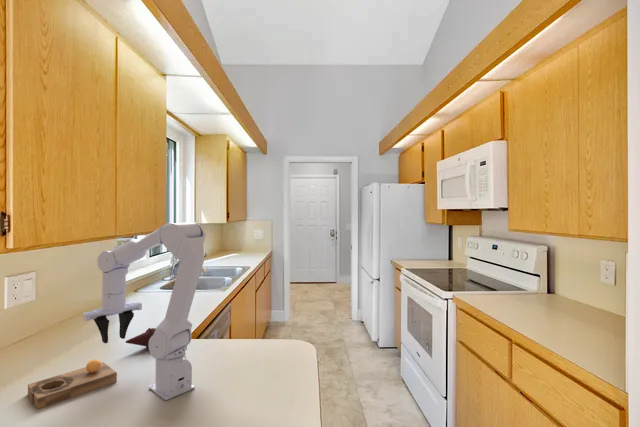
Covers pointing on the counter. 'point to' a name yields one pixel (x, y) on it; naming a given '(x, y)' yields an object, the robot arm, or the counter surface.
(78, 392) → the board
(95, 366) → the ball
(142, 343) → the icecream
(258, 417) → the counter surface
